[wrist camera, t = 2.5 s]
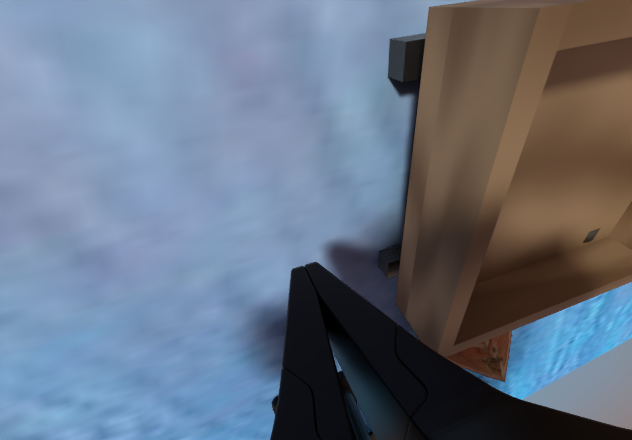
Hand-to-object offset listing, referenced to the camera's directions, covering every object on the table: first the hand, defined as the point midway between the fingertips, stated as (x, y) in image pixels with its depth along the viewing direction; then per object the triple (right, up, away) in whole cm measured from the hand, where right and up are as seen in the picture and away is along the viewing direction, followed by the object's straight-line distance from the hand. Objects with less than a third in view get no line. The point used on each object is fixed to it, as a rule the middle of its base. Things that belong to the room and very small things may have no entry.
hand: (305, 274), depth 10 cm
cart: (+10, +5, +5) cm, 12 cm away
